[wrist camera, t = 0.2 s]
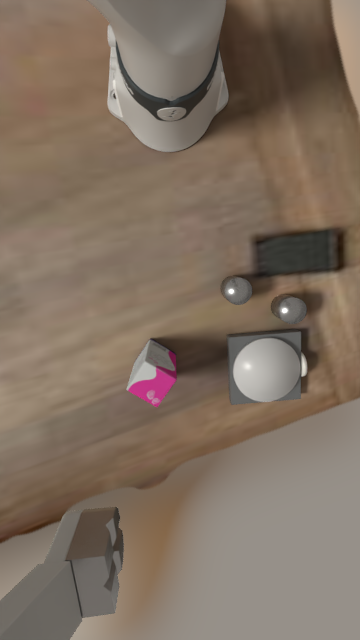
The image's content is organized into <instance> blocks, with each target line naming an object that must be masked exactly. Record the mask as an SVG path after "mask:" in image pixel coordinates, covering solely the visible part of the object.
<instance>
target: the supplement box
mask: <svg viewBox="0 0 360 640" xmlns="http://www.w3.org/2000/svg"><path fill="white" fill-rule="evenodd" d="M176 380H177V375H176V354H175V353H174V352H172V351H170V350H169V349H167V348H166V347H164V346H162V345H161V344H159V343H157V342H156V341H154V340H152V339H150V340H149V341H148V343H147V344H146V346H145V347H144V349H143V350H142V352H141V353H140V355H139V356H138V358H137V359H136V361H135V363H134V366H133V370H132V373H131V376H130V380H129V383H128V386H127V390H128V391H129V392H131V393H133V394H135V395H136V396H138V397H140V398H142V399H143V400H145V401H147V402H149V403H150V404H152V405H154V406H156V407H158V405H159V404H160V403H161V401H162V400H163V398H164V397H165V396H166V394H167V393H168V391H169V390H170V389H171V387H172V386H173V384H174V383H175V382H176Z"/></svg>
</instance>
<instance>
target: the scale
mask: <svg viewBox="0 0 360 640" xmlns="http://www.w3.org/2000/svg"><path fill="white" fill-rule="evenodd" d="M227 355H228V376H229V398H230V402H231V404H232V405H234V404H245V403H257V402H270V401H281V400H292V399H301V376H306V374H307V371H308V369H307V361H306V358H305V356H304V354H303V353H301V331H299V330H297V329H291V330H279V331H266V332H254V333H242V334H230V335H227Z"/></svg>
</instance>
